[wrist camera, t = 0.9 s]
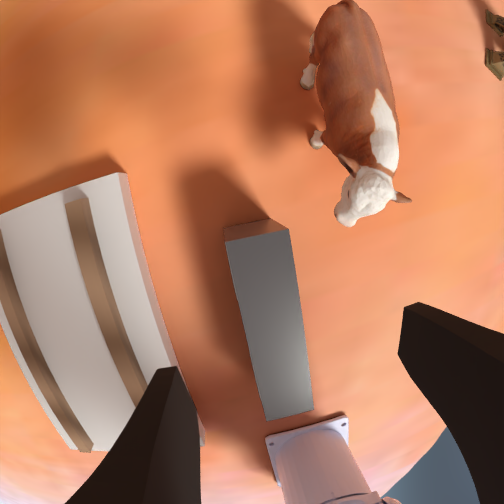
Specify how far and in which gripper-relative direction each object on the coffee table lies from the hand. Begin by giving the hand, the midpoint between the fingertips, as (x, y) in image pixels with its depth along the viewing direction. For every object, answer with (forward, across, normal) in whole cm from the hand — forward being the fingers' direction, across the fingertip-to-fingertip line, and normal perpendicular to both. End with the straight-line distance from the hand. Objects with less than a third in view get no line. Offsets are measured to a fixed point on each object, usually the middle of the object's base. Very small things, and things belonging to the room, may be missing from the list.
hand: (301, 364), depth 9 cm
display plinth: (+12, +14, +5) cm, 19 cm away
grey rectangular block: (+12, 0, +5) cm, 13 cm away
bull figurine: (+14, -7, -7) cm, 17 cm away
